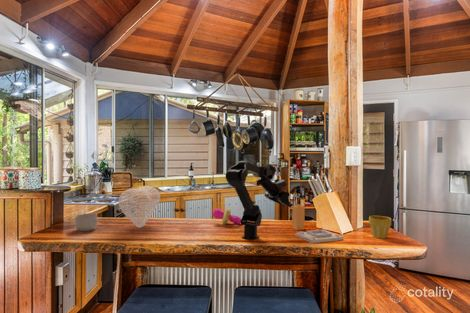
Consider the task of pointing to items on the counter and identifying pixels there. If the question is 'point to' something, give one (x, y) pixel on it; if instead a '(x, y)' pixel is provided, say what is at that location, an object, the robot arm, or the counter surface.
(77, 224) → the teacup
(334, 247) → the counter surface
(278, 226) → the counter surface
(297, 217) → the column brick
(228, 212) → the toy
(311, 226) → the counter surface
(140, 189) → the heart
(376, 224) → the plant pot
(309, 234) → the baseplate
